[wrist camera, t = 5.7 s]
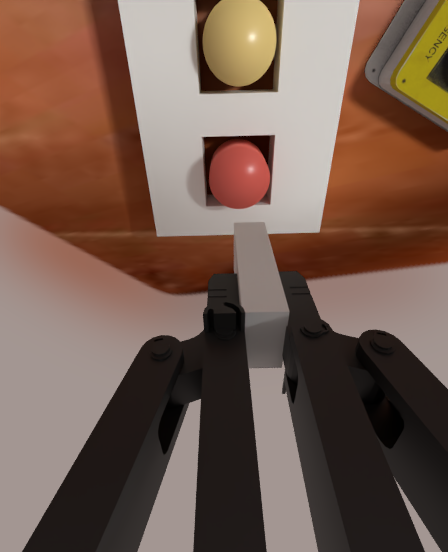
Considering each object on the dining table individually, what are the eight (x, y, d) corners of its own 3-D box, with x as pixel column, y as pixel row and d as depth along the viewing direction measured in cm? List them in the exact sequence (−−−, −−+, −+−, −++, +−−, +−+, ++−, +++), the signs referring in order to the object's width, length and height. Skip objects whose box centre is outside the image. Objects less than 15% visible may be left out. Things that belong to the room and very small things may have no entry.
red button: (266, 137, 27) (271, 147, 24) (263, 193, 29) (268, 208, 27) (208, 139, 27) (207, 149, 24) (211, 195, 29) (210, 209, 27)
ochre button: (271, 1, 22) (279, -8, 19) (267, 82, 25) (273, 85, 22) (202, 3, 22) (200, -6, 19) (206, 84, 25) (204, 87, 22)
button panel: (396, -333, 15) (430, -409, 13) (311, 219, 33) (319, 232, 30) (78, -322, 15) (51, -395, 13) (161, 223, 33) (157, 236, 30)
